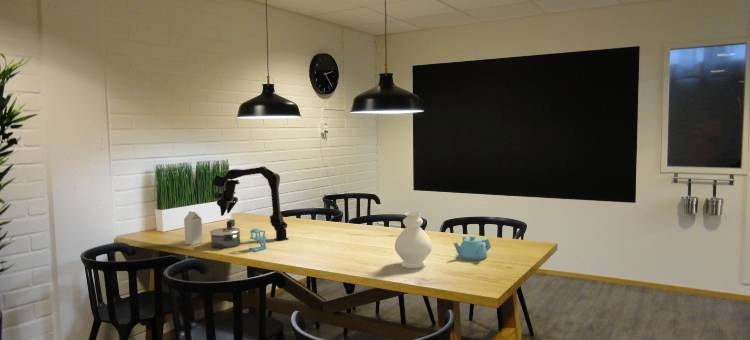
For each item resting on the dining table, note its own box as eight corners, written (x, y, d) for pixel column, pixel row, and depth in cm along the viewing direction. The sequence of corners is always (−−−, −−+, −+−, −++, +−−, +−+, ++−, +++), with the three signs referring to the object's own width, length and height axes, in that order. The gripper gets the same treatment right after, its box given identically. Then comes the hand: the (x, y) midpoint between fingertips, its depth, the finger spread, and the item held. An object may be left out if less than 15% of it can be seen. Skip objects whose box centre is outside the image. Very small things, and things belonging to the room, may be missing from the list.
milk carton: (192, 245, 309) (190, 213, 307) (185, 243, 313) (183, 212, 312) (202, 243, 315) (201, 211, 313) (195, 241, 319) (194, 210, 317)
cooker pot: (243, 247, 300) (242, 235, 299) (214, 251, 293) (213, 238, 293) (235, 238, 323) (235, 227, 323) (208, 242, 317) (207, 230, 316)
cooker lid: (235, 235, 297) (235, 226, 297) (206, 236, 298) (205, 227, 297) (246, 227, 320) (245, 219, 320) (219, 228, 321) (218, 219, 320)
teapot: (482, 262, 254) (482, 240, 253) (453, 259, 261) (452, 238, 260) (491, 255, 268) (491, 234, 267) (463, 252, 275) (462, 232, 274)
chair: (268, 249, 294) (268, 228, 293) (255, 252, 288) (255, 230, 287) (261, 247, 299) (260, 226, 298) (248, 249, 294) (247, 228, 293)
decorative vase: (440, 265, 252) (439, 213, 250) (411, 271, 242) (410, 217, 240) (416, 257, 267) (415, 208, 264) (387, 264, 256) (386, 213, 254)
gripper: (223, 184, 329) (218, 208, 331) (210, 188, 310) (205, 214, 312) (240, 188, 328) (235, 213, 330) (228, 192, 309) (223, 218, 311)
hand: (225, 214), depth 321 cm, fingers open, 9 cm apart
